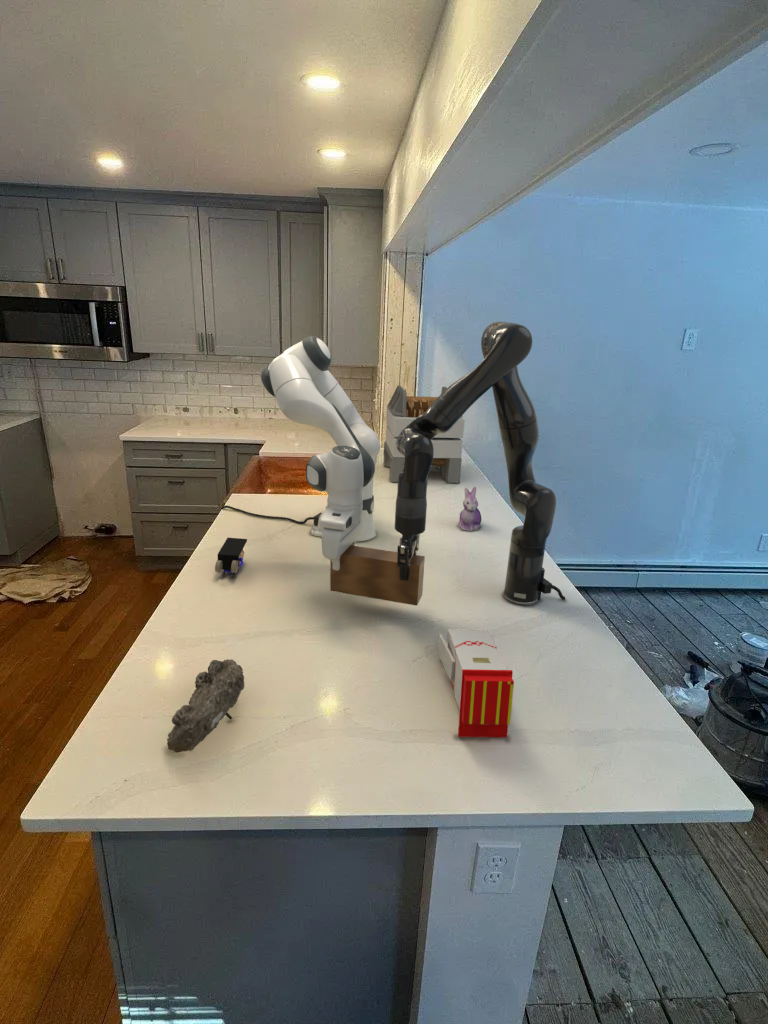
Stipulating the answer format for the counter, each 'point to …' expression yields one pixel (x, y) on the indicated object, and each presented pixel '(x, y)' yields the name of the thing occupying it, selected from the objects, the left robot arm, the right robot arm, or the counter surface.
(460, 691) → the toy
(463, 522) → the figurine
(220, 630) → the counter surface
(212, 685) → the fossil
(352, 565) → the box
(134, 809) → the counter surface
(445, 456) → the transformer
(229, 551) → the black toy vehicle
